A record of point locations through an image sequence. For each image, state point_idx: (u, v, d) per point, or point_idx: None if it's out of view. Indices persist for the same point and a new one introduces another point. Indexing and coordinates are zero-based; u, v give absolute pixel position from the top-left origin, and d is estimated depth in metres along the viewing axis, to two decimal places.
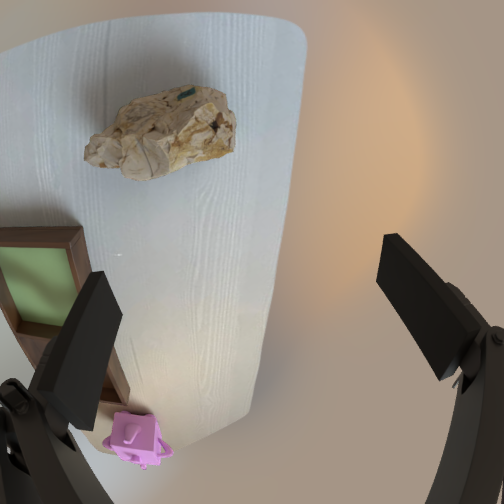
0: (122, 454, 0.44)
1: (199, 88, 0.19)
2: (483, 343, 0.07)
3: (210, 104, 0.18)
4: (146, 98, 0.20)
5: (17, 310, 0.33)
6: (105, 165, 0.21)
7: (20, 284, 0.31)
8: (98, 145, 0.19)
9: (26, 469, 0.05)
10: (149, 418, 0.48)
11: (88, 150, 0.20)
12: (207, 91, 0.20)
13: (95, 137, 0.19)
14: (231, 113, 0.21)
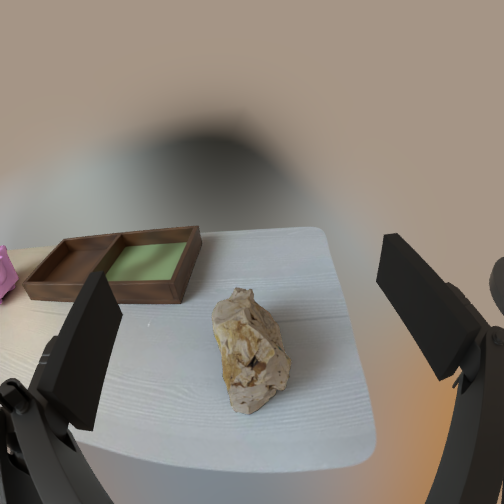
0: None
1: (287, 360, 0.25)
2: (483, 343, 0.07)
3: (272, 353, 0.23)
4: (278, 332, 0.29)
5: (134, 245, 0.54)
6: None
7: (152, 253, 0.51)
8: (244, 292, 0.30)
9: (26, 469, 0.05)
10: None
11: (241, 289, 0.32)
12: (285, 366, 0.24)
13: (251, 290, 0.31)
14: (265, 388, 0.23)
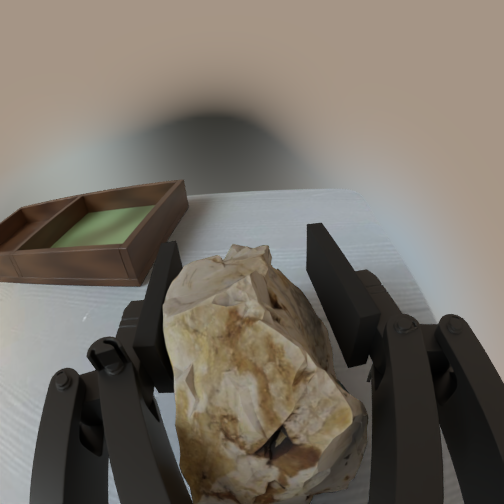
0: None
1: None
2: (385, 336, 0.08)
3: (346, 419, 0.06)
4: (328, 342, 0.12)
5: (98, 210, 0.37)
6: None
7: (118, 217, 0.34)
8: None
9: (92, 446, 0.07)
10: None
11: None
12: (361, 437, 0.07)
13: (266, 247, 0.14)
14: (304, 501, 0.06)
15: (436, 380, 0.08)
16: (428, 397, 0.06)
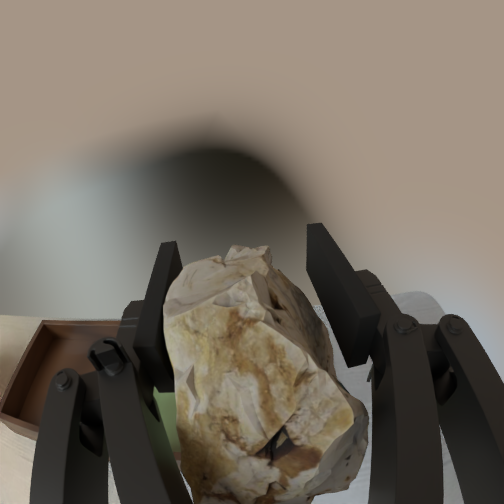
0: None
1: None
2: (385, 336, 0.08)
3: (347, 420, 0.06)
4: (329, 343, 0.12)
5: None
6: None
7: None
8: None
9: (92, 445, 0.07)
10: None
11: (246, 248, 0.15)
12: (361, 438, 0.07)
13: (267, 247, 0.14)
14: (305, 502, 0.06)
15: (436, 380, 0.08)
16: (428, 397, 0.06)
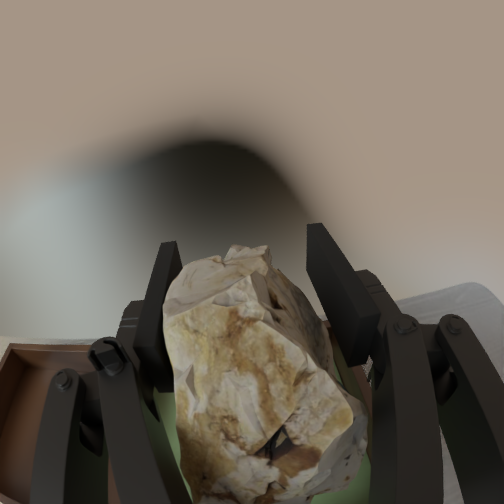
0: None
1: None
2: (385, 336, 0.08)
3: (347, 419, 0.06)
4: (329, 343, 0.12)
5: None
6: None
7: None
8: None
9: (92, 445, 0.07)
10: None
11: None
12: (361, 438, 0.07)
13: (267, 247, 0.14)
14: (304, 502, 0.06)
15: (436, 379, 0.08)
16: (428, 397, 0.06)
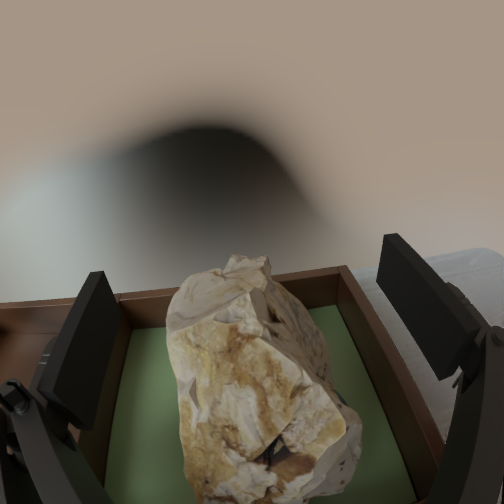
0: None
1: None
2: (483, 343, 0.07)
3: (340, 429, 0.06)
4: (326, 351, 0.12)
5: (159, 326, 0.20)
6: None
7: None
8: (252, 259, 0.14)
9: (26, 469, 0.05)
10: None
11: (245, 258, 0.15)
12: (355, 444, 0.07)
13: (266, 257, 0.14)
14: None
15: None
16: None
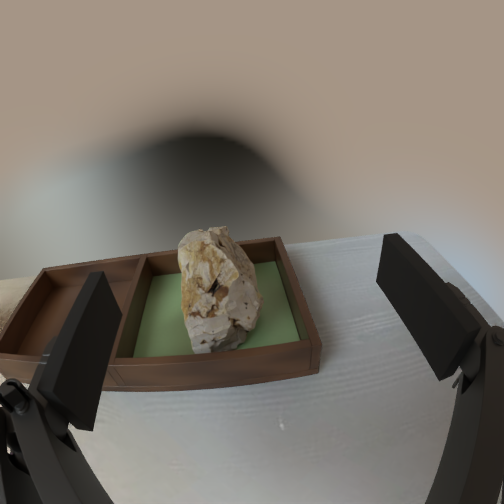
0: None
1: (257, 292, 0.22)
2: (483, 343, 0.07)
3: (236, 275, 0.20)
4: (253, 271, 0.27)
5: (169, 273, 0.34)
6: None
7: None
8: None
9: (26, 469, 0.05)
10: None
11: None
12: (253, 299, 0.22)
13: (225, 227, 0.29)
14: (227, 321, 0.21)
15: None
16: None
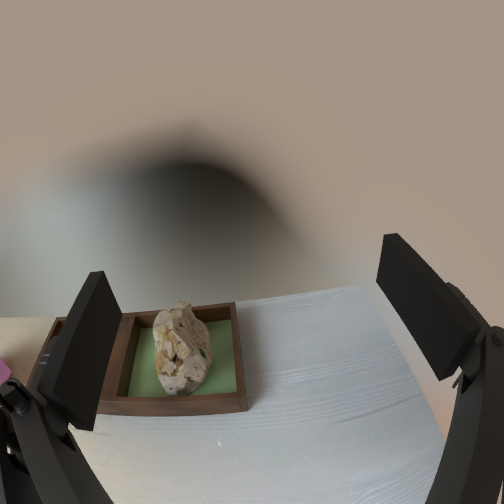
0: None
1: (204, 359, 0.32)
2: (483, 343, 0.07)
3: (188, 353, 0.30)
4: (207, 337, 0.36)
5: None
6: None
7: None
8: (183, 304, 0.38)
9: (26, 469, 0.05)
10: None
11: (183, 302, 0.39)
12: (201, 364, 0.32)
13: (188, 303, 0.38)
14: (184, 378, 0.30)
15: None
16: None
